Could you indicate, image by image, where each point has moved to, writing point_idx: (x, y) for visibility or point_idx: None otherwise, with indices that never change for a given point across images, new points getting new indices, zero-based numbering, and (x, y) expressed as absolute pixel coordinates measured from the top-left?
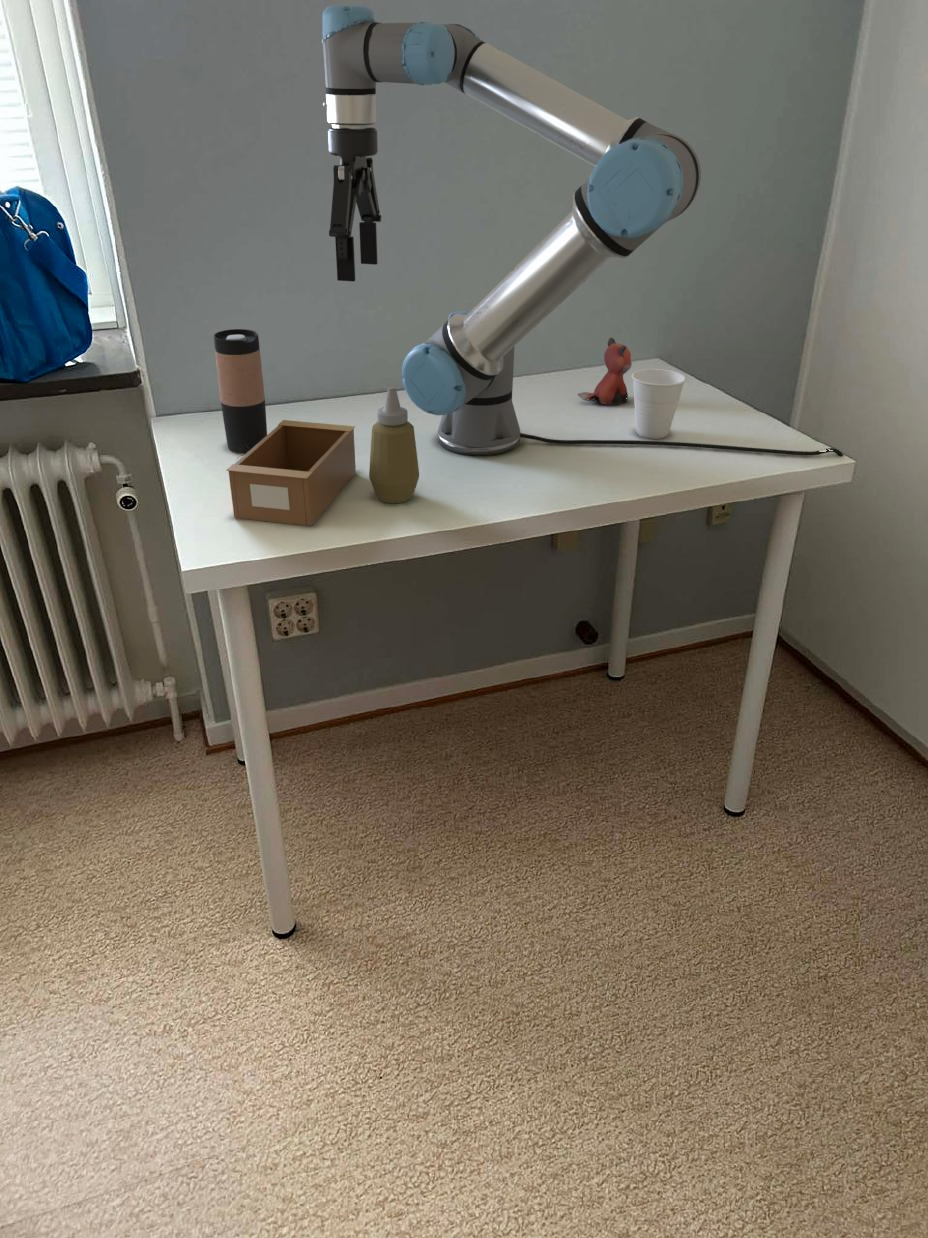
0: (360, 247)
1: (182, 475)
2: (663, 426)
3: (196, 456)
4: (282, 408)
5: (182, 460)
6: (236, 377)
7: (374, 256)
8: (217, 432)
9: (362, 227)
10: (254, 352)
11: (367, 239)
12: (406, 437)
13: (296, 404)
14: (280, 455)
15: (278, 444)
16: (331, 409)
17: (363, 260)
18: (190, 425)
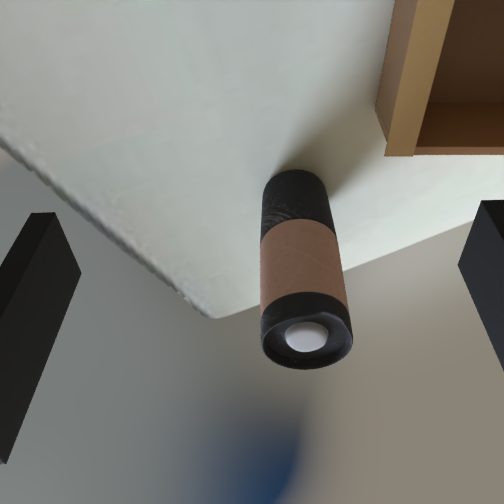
0: (56, 332)
1: (420, 230)
2: None
3: (347, 240)
4: (111, 207)
5: (364, 249)
6: (343, 279)
7: (44, 246)
8: (248, 249)
9: (11, 424)
10: (320, 292)
11: (24, 344)
12: None
13: (81, 195)
14: (426, 120)
15: (437, 132)
16: (71, 132)
17: (71, 274)
18: (232, 285)
